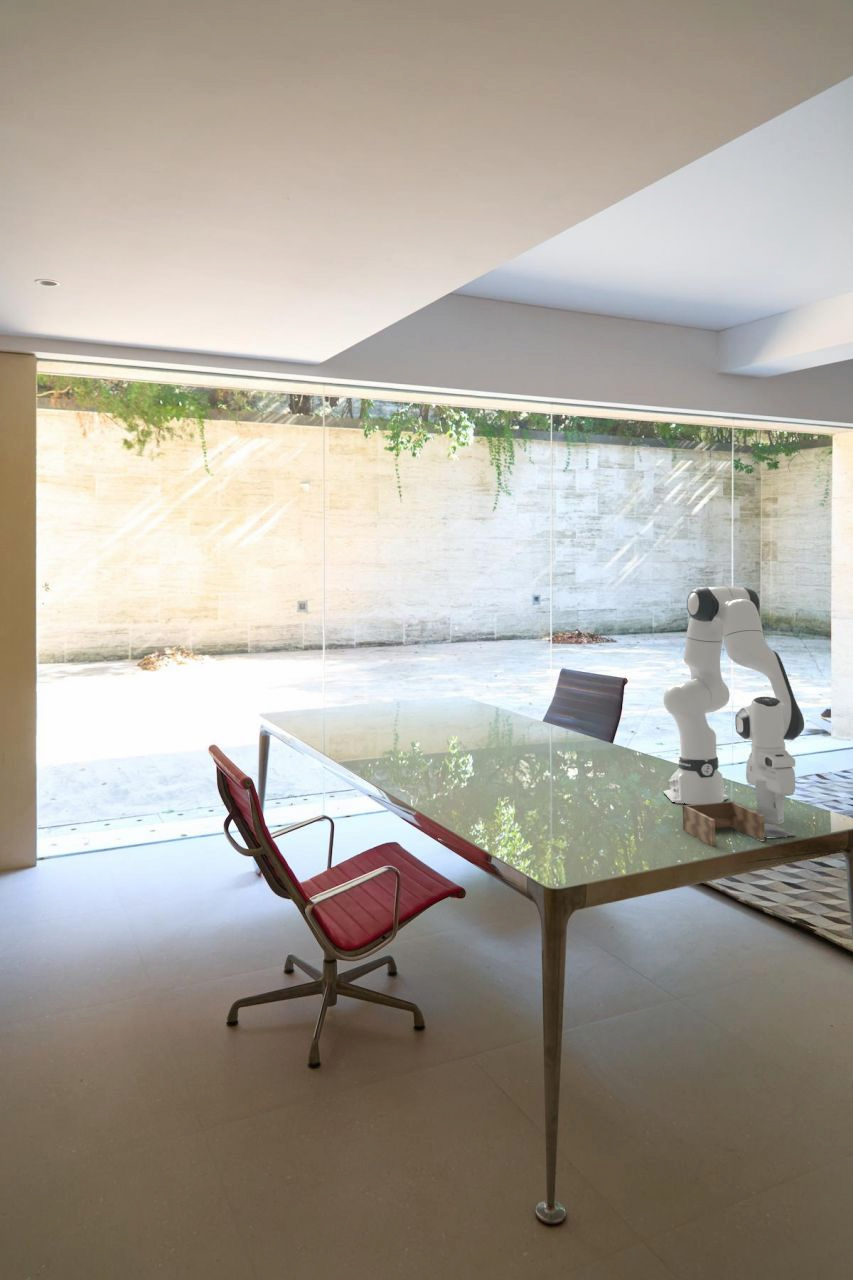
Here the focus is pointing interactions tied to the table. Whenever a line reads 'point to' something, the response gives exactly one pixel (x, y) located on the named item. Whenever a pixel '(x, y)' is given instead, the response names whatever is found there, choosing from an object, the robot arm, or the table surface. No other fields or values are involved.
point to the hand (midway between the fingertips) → (770, 805)
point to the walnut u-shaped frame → (721, 820)
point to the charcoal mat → (775, 831)
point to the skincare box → (767, 804)
